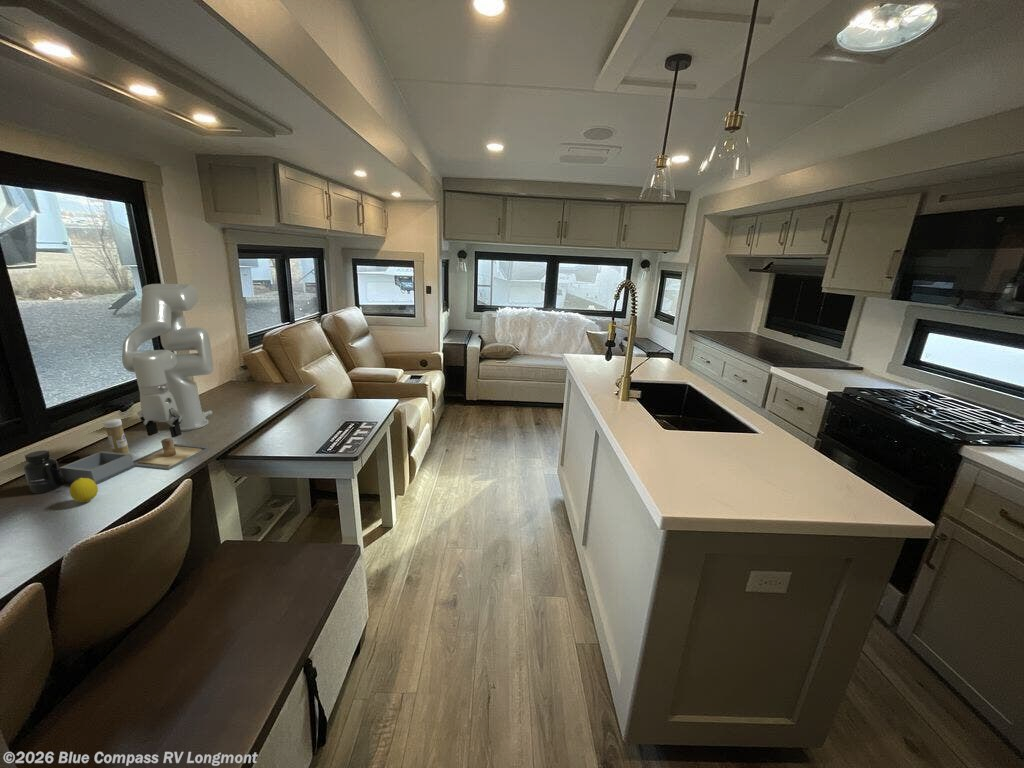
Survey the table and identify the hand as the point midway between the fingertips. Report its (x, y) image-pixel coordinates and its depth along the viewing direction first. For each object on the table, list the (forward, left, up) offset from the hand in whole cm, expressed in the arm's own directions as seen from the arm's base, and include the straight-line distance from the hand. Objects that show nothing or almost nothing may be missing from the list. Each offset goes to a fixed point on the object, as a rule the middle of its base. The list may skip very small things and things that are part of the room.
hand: (164, 435), depth 143 cm
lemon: (+28, +3, -9) cm, 30 cm away
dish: (+14, -11, -9) cm, 20 cm away
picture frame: (-1, 0, -9) cm, 9 cm away
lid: (-1, 0, -9) cm, 9 cm away
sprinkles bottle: (+1, -19, -9) cm, 21 cm away
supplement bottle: (+24, -17, -9) cm, 31 cm away
